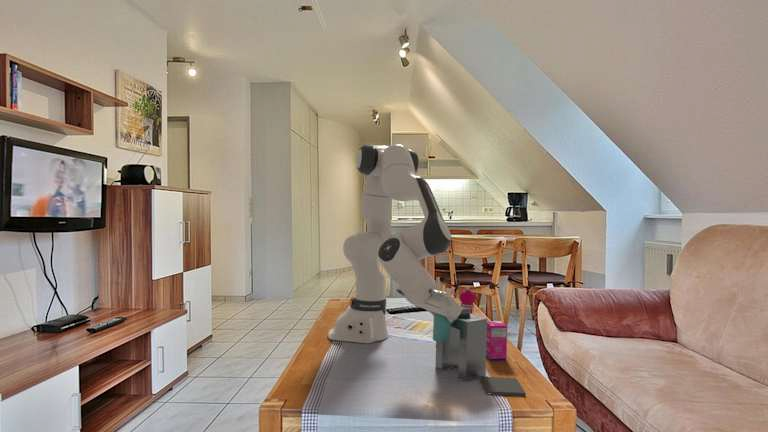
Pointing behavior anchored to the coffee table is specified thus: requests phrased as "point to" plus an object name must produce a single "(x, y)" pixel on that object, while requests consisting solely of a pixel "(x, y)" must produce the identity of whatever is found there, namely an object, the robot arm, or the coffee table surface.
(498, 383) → the mat
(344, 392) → the coffee table surface
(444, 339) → the teal cylindrical piece
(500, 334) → the supplement box
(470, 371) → the housing
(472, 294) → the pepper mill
